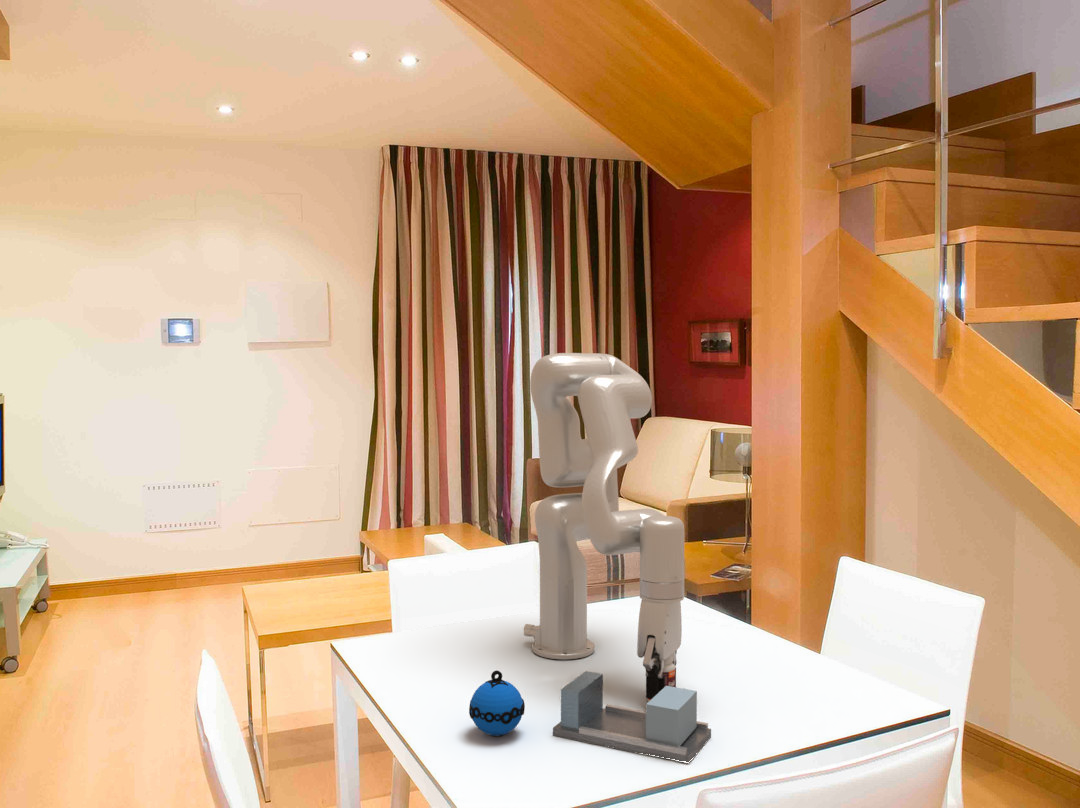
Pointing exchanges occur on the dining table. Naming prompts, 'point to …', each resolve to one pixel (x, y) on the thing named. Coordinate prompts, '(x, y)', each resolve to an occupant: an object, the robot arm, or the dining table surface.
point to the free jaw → (671, 715)
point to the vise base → (615, 723)
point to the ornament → (496, 706)
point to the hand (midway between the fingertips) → (661, 693)
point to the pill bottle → (667, 671)
